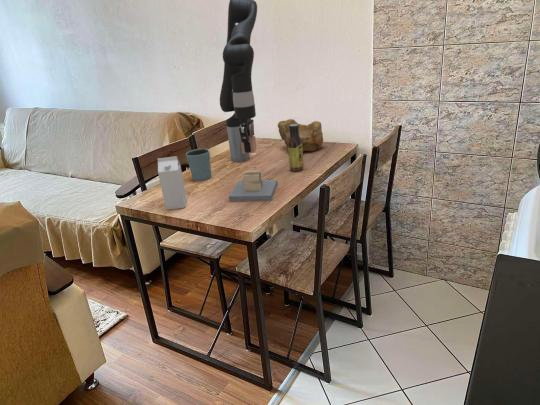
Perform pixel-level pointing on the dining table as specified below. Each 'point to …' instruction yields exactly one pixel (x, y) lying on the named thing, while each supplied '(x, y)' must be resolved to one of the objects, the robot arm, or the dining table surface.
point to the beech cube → (252, 180)
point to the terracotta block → (252, 145)
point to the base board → (254, 192)
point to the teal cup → (199, 164)
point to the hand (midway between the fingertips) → (249, 150)
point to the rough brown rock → (303, 134)
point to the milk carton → (172, 183)
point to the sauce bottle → (295, 149)
